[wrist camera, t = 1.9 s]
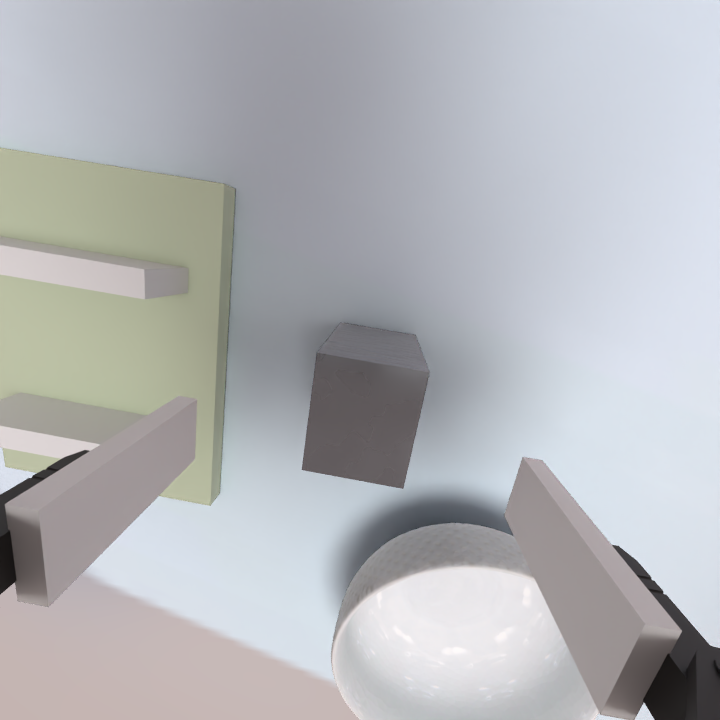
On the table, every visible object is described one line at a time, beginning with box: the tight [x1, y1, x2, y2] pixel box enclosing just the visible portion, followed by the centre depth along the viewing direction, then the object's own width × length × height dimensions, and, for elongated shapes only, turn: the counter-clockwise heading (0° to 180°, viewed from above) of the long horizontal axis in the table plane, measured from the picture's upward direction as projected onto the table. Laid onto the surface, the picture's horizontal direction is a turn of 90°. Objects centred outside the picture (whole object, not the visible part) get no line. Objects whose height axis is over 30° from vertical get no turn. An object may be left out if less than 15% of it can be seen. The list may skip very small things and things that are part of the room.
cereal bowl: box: [331, 522, 599, 720], centre depth 25 cm, size 17×17×7 cm
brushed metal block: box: [302, 322, 430, 488], centre depth 20 cm, size 6×5×8 cm
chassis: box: [0, 148, 235, 506], centre depth 22 cm, size 22×16×6 cm
